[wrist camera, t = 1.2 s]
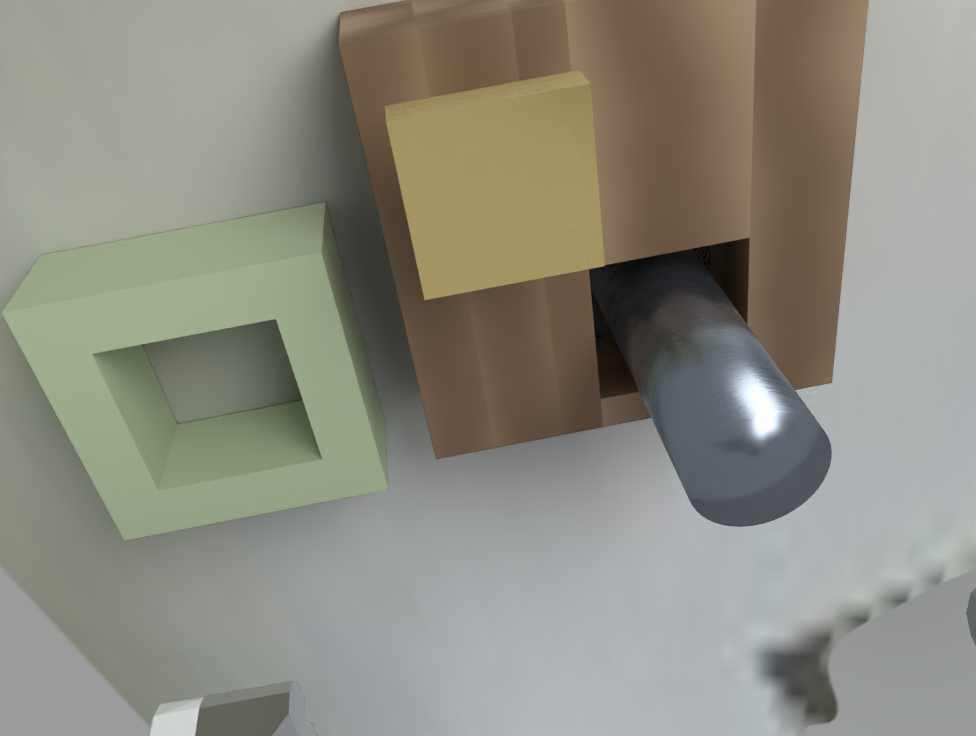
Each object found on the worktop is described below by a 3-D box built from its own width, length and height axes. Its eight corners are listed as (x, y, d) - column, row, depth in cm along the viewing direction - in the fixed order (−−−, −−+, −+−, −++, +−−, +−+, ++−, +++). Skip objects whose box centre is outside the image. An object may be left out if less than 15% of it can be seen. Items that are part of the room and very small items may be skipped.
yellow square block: (551, 33, 25) (590, 83, 21) (567, 192, 28) (604, 266, 24) (381, 64, 25) (385, 121, 21) (414, 221, 28) (424, 300, 24)
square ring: (325, 202, 30) (321, 252, 27) (385, 425, 36) (388, 489, 33) (40, 255, 30) (1, 312, 27) (146, 471, 36) (124, 540, 33)
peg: (690, 212, 32) (837, 399, 22) (692, 304, 35) (825, 511, 25) (585, 232, 32) (685, 428, 22) (593, 323, 35) (687, 538, 25)
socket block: (811, -74, 27) (873, -55, 24) (788, 328, 36) (831, 383, 33) (340, 12, 27) (338, 43, 24) (428, 396, 36) (435, 459, 32)
